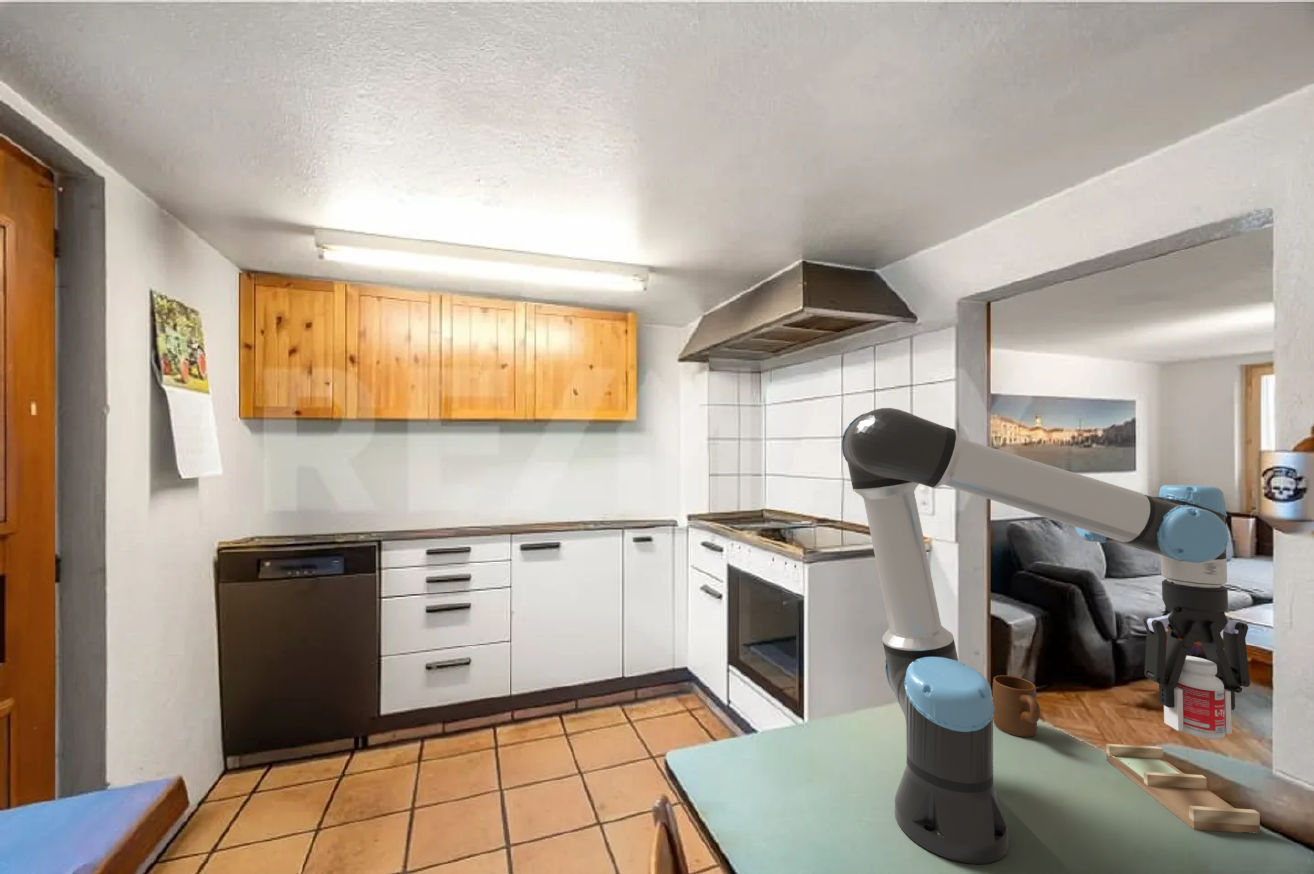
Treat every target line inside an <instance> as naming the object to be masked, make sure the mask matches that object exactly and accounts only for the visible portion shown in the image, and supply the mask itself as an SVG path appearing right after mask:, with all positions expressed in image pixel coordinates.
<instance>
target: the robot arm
mask: <svg viewBox="0 0 1314 874" xmlns="http://www.w3.org/2000/svg"><path fill="white" fill-rule="evenodd" d="M841 452H842V455H843V456H842V457H843V458H844V459H845V461H846V463H847V467H848V471H849V476H850V480H851V481H850V482H851V487H852V491H854V492H855V493H856V494H858V496H861V497H862V499H863V502H864V503H863V504H864V508H865V513H866V518H867V523H868V527H869V532H870V533H869V534H870V537H871V543H872V549H873V554H874V558H875V564H876V568H877V572H878V573H877V574H878V578H879V584H880V588H881V593H882V599H883V604H884V610H885V614H886V619H887V624H888V629H887V631H885V633H884V634H883V635H882V638H881V640H882V644H883V649H884V656H885V661H884V663H885V665H884V670H885V671H884V672H885V676H886V679H887V682H888V685H889V686H890V688H891V690H892V692H893V694H894V695H895V697H896V700H897V702H898V704H899V707H900V709H901V711H902V713H903V716H904V718H905V726H906V727H905V728H906V730H905V731H906V733H905V735H906V736H905V737H906V766H905V769H904V771H903V774H902V777H901V779H900V782H899V785H898V787H897V789H896V793H895V797H894V816H895V820H896V822H897V825H898V827H899V828H900V829H901V830H902V832H904V833H905V835H906V836H907V837H909V838H910V840H912V841H913V842H914V843H916V844H917V845H919V847H920V846H921V847H922V848H924V849H925V850H928V851H930V852H931V853H933V854H936V855H938V856H940V857H941V858H942V857H943V858H946V859H948V860H952V861H956V862H960V863H966V864H976V865H978V864H989V863H994V862H997V861H999V860H1001V859H1002V858H1003V857H1005V856H1006V855H1007V852H1008V850H1009V828H1008V824H1007V820H1006V818H1005V814H1004V813H1003V812H1004V811H1003V810H1002V806H1001V805H1000V801H999V799H998V796H997V792H996V789H995V786H994V721H993V715H994V705H993V703H994V702H993V691H992V689H991V688H992V687H991V686H990V683H989V681H988V680H987V679H986V677H985V676H984V675H983V674H982V673H981V672H979V671H978V670H977V669H976V668H974V667H972V666H969V665H966V664H965V663H964V662H962V661H959V657H958V652H957V648H956V644H955V638H954V637H955V636H954V634H953V633H952V632H951V631H950V630H948V629H946V628H945V627H944V626H943V625H942V623H941V622H942V621H941V617H940V613H939V607H938V602H937V598H936V592H935V588H934V583H933V577H932V572H931V568H930V563H929V558H928V554H927V553H928V552H927V548H926V543H925V538H924V533H923V529H922V523H921V519H920V514H919V513H920V512H919V509H918V508H919V507H918V503H917V499H916V494H915V491H916V489H917V487H918V486H919V485H923V486H926V487H929V488H932V489H936V488H939V487H941V486H946V487H947V486H948V487H951V488H953V489H955V490H960V491H963V492H965V493H969V494H972V495H975V496H977V497H981V498H983V499H984V498H985V499H988V500H991V501H994V502H997V503H1000V504H1003V505H1007V506H1009V507H1012V508H1016V509H1019V510H1022V511H1025V512H1028V513H1032V514H1034V515H1037V516H1040V517H1044V518H1046V519H1050V520H1053V521H1056V522H1059V523H1062V524H1066V525H1069V526H1072V527H1074V529H1075V531H1076V533H1077V535H1078V536H1079V537H1080V538H1081V539H1083V540H1084V541H1086V542H1095V543H1101V544H1105V543H1114V544H1115V543H1116V544H1121V545H1124V546H1127V547H1131V548H1135V549H1139V550H1143V551H1147V552H1151V553H1153V554H1157V555H1160V556H1161V557H1160V562H1161V563H1160V565H1161V567H1160V569H1161V571H1160V573H1161V576H1162V577H1163V578H1165V579H1163V580H1161V593H1162V594H1161V597H1162V602H1163V604H1164V606H1165V608H1164V611H1163V613H1162V616H1157V617H1150V616H1145V617H1144V618H1143V624H1144V627H1145V631H1146V637H1145V638H1146V639H1145V653H1144V654H1145V655H1144V657H1145V658H1144V672H1143V673H1144V676H1145V677H1146V678H1147V679H1149V680H1151V681H1153V682H1155V683H1157V684H1158V694H1159V695H1158V696H1159V697H1158V699H1159V700H1158V701H1159V703H1160V704H1161V705H1162V706H1163V721H1164V722H1163V723H1164V724H1165V725H1167V726H1168V727H1170V728H1172V729H1174V730H1175V731H1177V732H1183V731H1184V729H1183V690H1182V689H1180V688H1178V687H1176V686H1177V683H1178V680H1179V677H1180V674H1181V671H1182V668H1183V665H1184V662H1185V659H1186V656H1188V653H1189V651H1190V649H1192V648H1193V647H1194V644H1195V643H1200V645H1201V646H1202V650H1203V652H1204V655H1205V657H1206V660H1209V661H1212V662H1214V663H1215V664H1216V665H1217V674H1216V675H1215V677H1217V678H1219V679H1220V680H1221V681H1222V683H1223V685H1224V703H1225V734H1227V735H1228V734H1230V735H1231V734H1233V731H1232V727H1233V725H1232V711H1234V710H1235V708H1236V694H1235V693H1237V694H1239V693H1241V692H1243V687H1245V688H1248V687H1249V686H1251V679H1250V670H1249V660H1248V653H1247V650H1248V649H1247V642H1246V641H1247V640H1246V638H1247V635H1248V634H1247V633H1248V631H1249V625H1248V623H1244V622H1242V621H1238V620H1235V619H1232V618H1228V617H1227V615H1226V614H1225V612H1227V611H1228V609H1229V595H1228V593H1229V592H1228V588H1226V586H1224V585H1225V584H1227V583H1228V565H1227V564H1228V562H1227V560H1228V558H1227V547H1228V543H1229V540H1230V539H1229V536H1230V535H1229V530H1228V527H1227V517H1228V514H1227V508H1226V501H1225V494H1224V492H1223V491H1222V490H1221V489H1220V488H1218V487H1216V486H1212V485H1201V484H1200V485H1196V484H1164V485H1161V486H1160V488H1159V494H1158V496H1150V495H1147V494H1143V493H1141V492H1138V491H1135V490H1132V489H1129V488H1125V487H1122V486H1119V485H1116V484H1113V483H1109V482H1105V481H1102V480H1098V479H1095V478H1092V477H1089V476H1086V475H1083V474H1079V473H1076V472H1072V471H1070V470H1067V469H1062V468H1060V467H1056V466H1053V465H1050V464H1047V463H1043V462H1040V461H1037V460H1033V459H1029V458H1027V457H1024V456H1020V455H1016V454H1013V453H1011V452H1007V451H1004V450H1001V449H998V448H995V447H994V448H993V447H990V446H988V445H984V444H980V443H978V442H974V441H971V440H968V439H964V438H961V436H960V434H959V432H958V430H957V429H955V428H951V427H947V426H945V425H941V424H938V423H936V422H933V421H931V420H929V419H926V418H922V417H919V416H917V415H915V414H912V413H909V412H907V411H904V410H901V409H899V408H892V407H882V408H877V409H874V410H871V411H869V412H865V413H862V414H860V415H859V416H856V417H855V418H854V419H853V420H852V421H851V422H849V423H848V424H847V427H846V428H845V430H844V432H843V435H842V439H841ZM1221 633H1222V634H1221Z"/></svg>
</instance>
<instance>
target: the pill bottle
mask: <svg viewBox="0 0 1314 874" xmlns="http://www.w3.org/2000/svg"><path fill="white" fill-rule="evenodd" d="M1216 674H1217V665H1216V664H1215V663H1214V662H1212V661H1209V660H1207V658H1206V659H1205V658H1202V657H1197V656H1192V655H1187V656H1186V659H1185V662H1184V665H1183V668H1182V671H1181V674H1180V677H1179V680H1178V683H1177V686H1176V687H1178V688H1180V689H1182V690H1183V729H1184V731H1182V732H1184V733H1186V734H1188V735H1191V736H1194V737H1196V738H1197V737H1199V738H1201V739H1202V738H1203V739H1206V740H1221V739H1223V738H1225V736H1226V733H1225V703H1224V685H1223V683H1222V681H1221V680H1220V679H1219V678H1217V677H1215V675H1216Z"/></svg>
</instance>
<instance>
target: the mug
mask: <svg viewBox="0 0 1314 874" xmlns="http://www.w3.org/2000/svg"><path fill="white" fill-rule="evenodd" d="M992 681H993V682H992V699H993V702H994V703H993V705H994V715H993V725H995V727H996V728H997V729H999V731H1001V732H1004V733H1006V734H1008V735H1011V736H1015V737H1019V738H1020V737H1022V738H1023V737H1024V738H1031V737H1033V736H1035V735H1036V734H1037V731H1038V721H1039V720H1040V719H1041V707H1040V705H1039V703H1038V697H1037V695H1038V694H1037V687H1036V685H1035V684H1034V683H1033V682H1032V681H1030V680H1027V679H1025V678H1022V677H1018V676H1014V675H1013V676H1012V675H1008V674H1007V675H1005V674H1004V675H1003V674H1002V675H996V676H994V677H993V679H992Z"/></svg>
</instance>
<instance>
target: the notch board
mask: <svg viewBox="0 0 1314 874" xmlns="http://www.w3.org/2000/svg"><path fill="white" fill-rule="evenodd" d="M1105 748H1106V750H1105V751H1106V752H1105V753H1109V754H1110V755H1108V754H1106V761H1107V762H1108V763H1109V764H1110V765H1112V766H1113V767H1114V768H1116V769H1117V770H1118V771H1120V772H1121V773H1122V774H1123V775H1125V776H1126V777H1127V778H1128V779H1129V780H1131V781H1132V783H1135V784H1136V785H1137V786H1138V787H1139V788H1141V789H1142V790H1143V791H1145V792H1146V793H1147V794H1148V795H1149V796H1151V797H1153V798H1154V800H1156V801H1157V802H1158V803H1160V804H1161V805H1162V806H1164V807H1165V808H1166V809H1167V810H1168V811H1170V812H1171V813H1173V815H1175V816H1176V817H1178V818H1179V819H1180V820H1182V821H1183V823H1185V824H1186V825H1188V826H1189V827H1190V828H1191V829H1193V830H1198V831H1199V830H1200V831H1211V832H1212V831H1215V832H1227V831H1228V832H1230V831H1231V832H1230V833H1242V832H1251V833H1250V834H1258V833H1260V834H1261V827H1260V826H1261V824H1260V823H1261V822H1260V821H1261V820H1260V819H1261V818H1260V816H1261V815H1260V812H1258V811H1257V810H1256V809H1250V808H1249V809H1248V808H1247V809H1246V808H1235V807H1234V806H1232V805H1231V804H1230V803H1228V802H1226V801H1225V800H1224V799H1222V798H1220V797H1219V796H1218V795H1217V794H1215V793H1213V792H1212V791H1211V790H1209V789H1208V787H1207V783H1208V781H1207V777H1206V776H1204V775H1203V774H1190V773H1189V774H1188V773H1184V772H1183V771H1182V770H1180V769H1178V768H1177V767H1175V766H1174V765H1173V764H1171V763H1169V761H1167V760H1165V759H1164V749H1163V747H1161V746H1155V745H1154V746H1153V745H1139V744H1137V745H1135V744H1131V745H1130V744H1119V743H1118V744H1116V743H1114V744H1113V743H1106V745H1105ZM1148 749H1150V750H1148ZM1144 753H1145V754H1144ZM1111 755H1112V756H1115V757H1116V758H1119V759H1121V760H1119V759H1116V758H1113V757H1112V756H1111ZM1128 763H1129V764H1128ZM1253 832H1255V833H1253Z"/></svg>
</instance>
